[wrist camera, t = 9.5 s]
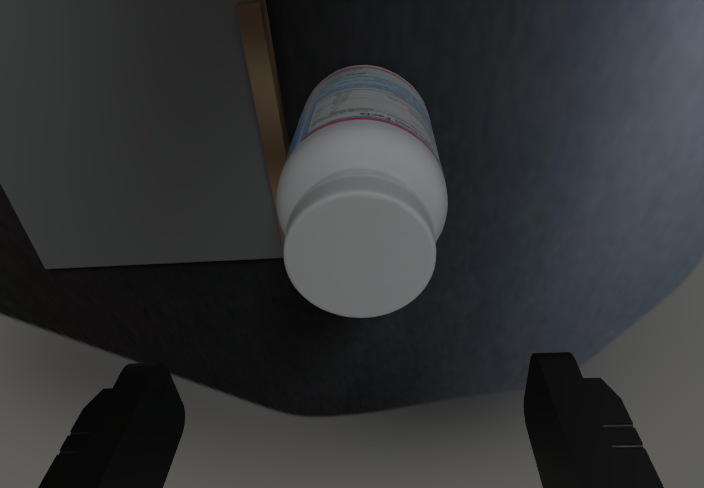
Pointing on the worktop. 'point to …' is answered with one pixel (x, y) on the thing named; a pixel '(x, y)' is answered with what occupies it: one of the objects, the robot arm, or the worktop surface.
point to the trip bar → (265, 88)
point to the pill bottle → (362, 195)
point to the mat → (132, 133)
